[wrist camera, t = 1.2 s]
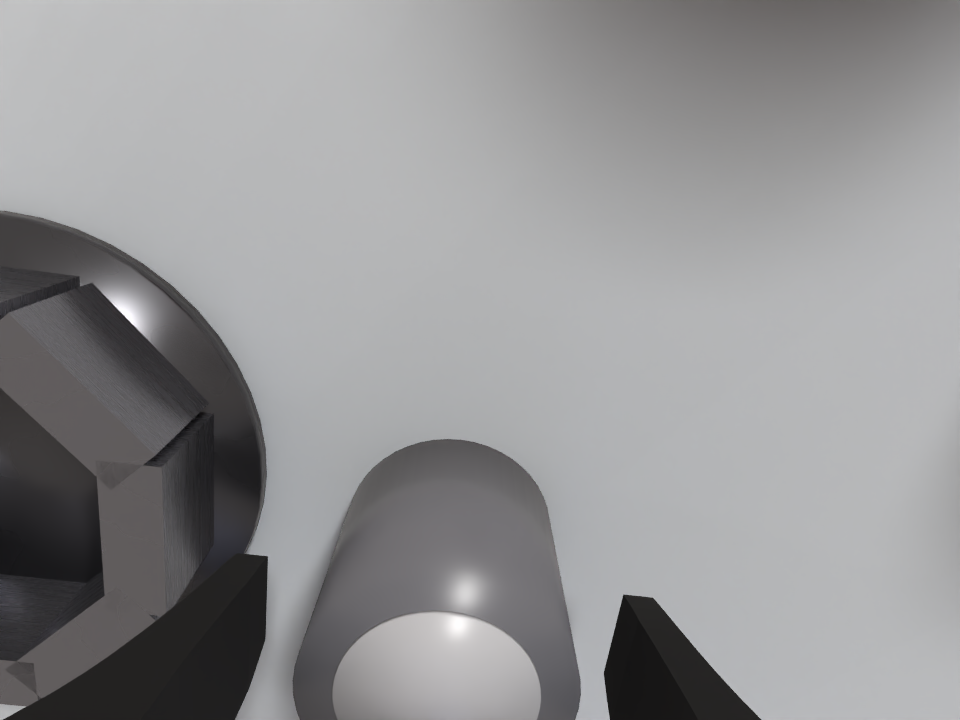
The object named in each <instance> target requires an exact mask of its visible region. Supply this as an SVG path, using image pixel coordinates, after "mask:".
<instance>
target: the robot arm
mask: <svg viewBox="0 0 960 720" xmlns="http://www.w3.org/2000/svg"><path fill="white" fill-rule="evenodd" d="M267 566H268V556H259V555H250V554H240V553H237V554H235V555H234V556H232V557H231V558H230V559H229V560H228V561H226V562H225V563H224V564H223V565H222V566H221V567H219V568H218V569H217V570H216V571H215V572H214V573H213V574H211V575H210V576H209V577H208V578H207V579H206V580H204V581H203V582H202V583H201V584H200V585H199V586H198V587H196V588H195V589H194V590H193V591H192V592H190V593H189V594H188V595H187V596H186V597H185V598H183V599H182V600H181V601H180V602H178V603H177V604H176V605H175V606H174V607H172V608H171V609H170V610H169V611H167V612H166V613H165V614H164V615H162V616H161V617H160V618H159V619H158V620H156V621H155V622H154V623H152V624H151V625H150V626H149V627H147V628H146V629H145V630H143V631H142V632H141V633H139V634H138V635H137V636H135V637H134V638H132V639H131V640H130V641H128V642H127V643H126V644H124V645H123V646H122V647H120V648H119V649H118V650H116V651H115V652H114V653H112V654H111V655H109V656H108V657H106V658H105V659H104V660H102V661H101V662H99V663H98V664H96V665H95V666H93V667H92V668H90V669H89V670H87V671H86V672H84V673H83V674H81V675H80V676H78V677H76V678H75V679H73V680H72V681H70V682H68V683H67V684H65V685H64V686H62V687H60V688H59V689H57V690H55V691H54V692H52V693H50V694H49V695H47V696H45V697H43V698H42V699H40V700H38V701H36V702H34V703H33V704H31V705H29V706H27V707H25V708H23V709H22V710H20V711H18V712H16V713H14V714H13V715H11V716H9V717H7V718H5V719H4V720H235V718H236V716H237V714H238V711H239V709H240V707H241V705H242V703H243V701H244V698H245V696H246V694H247V692H248V690H249V687H250V684H251V681H252V678H253V675H254V672H255V669H256V666H257V663H258V660H259V657H260V654H261V651H262V648H263V645H264V642H265V634H266V600H267ZM604 678H605V686H606V694H607V702H608V709H609V716H610V720H761V719H760V718H759V717H758V716H757V715H756V714H755V713H754V712H753V711H752V710H751V709H750V708H749V707H748V706H747V705H746V704H745V703H744V702H743V701H742V700H741V699H740V698H739V697H738V695H737V694H736V693H735V692H734V691H733V690H732V689H731V688H730V687H729V686H728V685H727V684H726V683H725V681H724V680H723V679H722V678H721V677H720V676H719V675H718V674H717V673H716V671H715V670H714V669H713V668H712V667H711V666H710V665H709V663H708V662H707V661H706V660H705V659H704V658H703V657H702V655H701V654H700V653H699V652H698V651H697V650H696V648H695V647H694V646H693V645H692V644H691V643H690V641H689V640H688V639H687V638H686V637H685V635H684V634H683V633H682V632H681V631H680V629H679V628H678V627H677V626H676V625H675V623H674V622H673V621H672V620H671V619H670V617H669V616H668V615H667V614H666V613H665V611H664V610H663V609H662V608H661V607H660V605H659V604H658V603H657V602H656V601H655V600H654V599H653V598H650V597H641V596H631V595H623V599H622V603H621V607H620V611H619V615H618V619H617V623H616V627H615V631H614V635H613V639H612V643H611V647H610V651H609V655H608V659H607V663H606V667H605V671H604Z"/></svg>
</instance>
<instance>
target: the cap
mask: <svg viewBox="0 0 960 720" xmlns="http://www.w3.org/2000/svg"><path fill="white" fill-rule="evenodd" d="M293 696H294V701H295V706H296V710H297V713H298V716H299V718H300V720H575V718H576V715H577V712H578V709H579V702H580V696H581V688H580V675H579V670H578V665H577V660H576V654H575V649H574V644H573V639H572V634H571V628H570V623H569V618H568V613H567V608H566V602H565V597H564V592H563V587H562V582H561V576H560V571H559V566H558V561H557V556H556V550H555V545H554V540H553V535H552V530H551V524H550V519H549V514H548V509H547V506H546V503H545V500H544V497H543V495H542V493H541V491H540V489H539V487H538V486H537V484H536V483H535V481H534V480H533V479H532V477H531V476H530V475H529V474H528V473H527V472H526V471H525V470H524V469H523V468H522V467H521V466H520V465H519V464H518V463H516V462H515V461H514V460H513V459H511V458H510V457H508V456H506V455H505V454H503V453H501V452H499V451H497V450H495V449H493V448H490V447H488V446H485V445H482V444H478V443H475V442H470V441H464V440H452V439H443V440H431V441H426V442H420V443H417V444H414V445H411V446H407V447H405V448H403V449H401V450H398V451H396V452H394V453H393V454H391V455H389V456H388V457H386V458H385V459H383V460H382V461H381V462H380V463H378V464H377V465H376V466H375V467H374V468H373V469H372V470H371V471H370V472H369V473H368V474H367V475H366V476H365V478H364V479H363V481H362V482H361V484H360V485H359V487H358V489H357V491H356V493H355V495H354V497H353V499H352V502H351V505H350V508H349V511H348V514H347V517H346V520H345V522H344V525H343V528H342V531H341V534H340V537H339V540H338V542H337V545H336V548H335V551H334V554H333V557H332V560H331V563H330V565H329V568H328V571H327V574H326V577H325V580H324V583H323V585H322V588H321V591H320V594H319V597H318V600H317V603H316V606H315V608H314V611H313V614H312V617H311V620H310V623H309V626H308V628H307V631H306V634H305V637H304V640H303V643H302V646H301V649H300V651H299V655H298V658H297V661H296V664H295V669H294V677H293Z"/></svg>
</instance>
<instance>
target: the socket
mask: <svg viewBox="0 0 960 720" xmlns="http://www.w3.org/2000/svg"><path fill="white" fill-rule="evenodd" d="M266 477H267V471H266V449H265V443H264V438H263V433H262V427H261V422H260V418H259V415H258V412H257V409H256V406H255V403H254V400H253V397H252V395H251V392H250V390H249V388H248V385H247V383H246V381H245V379H244V377H243V375H242V373H241V371H240V369H239V367H238V365H237V363H236V362H235V360H234V358H233V357H232V355H231V354H230V352H229V351H228V349H227V348H226V346H225V345H224V343H223V342H222V340H221V339H220V337H219V336H218V334H217V333H216V332H215V331H214V330H213V328H212V327H211V326H210V325H209V324H208V322H207V321H206V320H205V319H204V318H203V316H202V315H201V314H200V313H199V312H198V310H197V309H196V308H195V307H194V306H192V305H191V304H190V303H189V302H188V301H187V300H186V299H185V298H184V297H183V296H182V295H181V294H180V293H179V292H178V291H177V290H176V289H175V288H174V287H173V286H172V285H170V284H169V283H168V282H166V281H165V280H164V279H162V278H161V277H160V276H158V275H157V274H156V273H154V272H153V271H152V270H150V269H149V268H148V267H147V266H145V265H144V264H143V263H141V262H139V261H138V260H136V259H134V258H132V257H131V256H129V255H127V254H126V253H124V252H122V251H121V250H119V249H117V248H116V247H114V246H112V245H111V244H108V243H106V242H104V241H102V240H100V239H97V238H95V237H93V236H91V235H89V234H86V233H84V232H82V231H80V230H78V229H75V228H71V227H68V226H65V225H62V224H59V223H56V222H53V221H50V220H47V219H43V218H39V217H34V216H29V215H24V214H18V213H13V212H8V211H0V704H8V705H18V706H29V705H31V704H33V703H34V702H36V701H38V700H40V699H42V698H43V697H45V696H47V695H49V694H50V693H52V692H54V691H55V690H57V689H59V688H60V687H62V686H64V685H65V684H67V683H68V682H70V681H72V680H73V679H75V678H76V677H78V676H80V675H81V674H83V673H84V672H86V671H87V670H89V669H90V668H92V667H93V666H95V665H96V664H98V663H99V662H101V661H102V660H104V659H105V658H106V657H108V656H109V655H111V654H112V653H114V652H115V651H116V650H118V649H119V648H120V647H122V646H123V645H124V644H126V643H127V642H128V641H130V640H131V639H132V638H134V637H135V636H137V635H138V634H139V633H141V632H142V631H143V630H145V629H146V628H147V627H149V626H150V625H151V624H152V623H154V622H155V621H156V620H158V619H159V618H160V617H161V616H162V615H164V614H165V613H166V612H167V611H169V610H170V609H171V608H172V607H174V606H175V605H176V604H177V603H178V602H180V601H181V600H182V599H183V598H185V597H186V596H187V595H188V594H189V593H190V592H192V591H193V590H194V589H195V588H196V587H198V586H199V585H200V584H201V583H202V582H203V581H204V580H206V579H207V578H208V577H209V576H210V575H211V574H213V573H214V572H215V571H216V570H217V569H218V568H219V567H221V566H222V565H223V564H224V563H225V562H226V561H228V560H229V559H230V558H231V557H232V556H234V555H235V554H237V553H240V554H244V553H245V552H246V550H247V548H248V546H249V544H250V541H251V539H252V537H253V535H254V532H255V530H256V528H257V526H258V522H259V518H260V514H261V510H262V507H263V503H264V496H265V487H266Z"/></svg>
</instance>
